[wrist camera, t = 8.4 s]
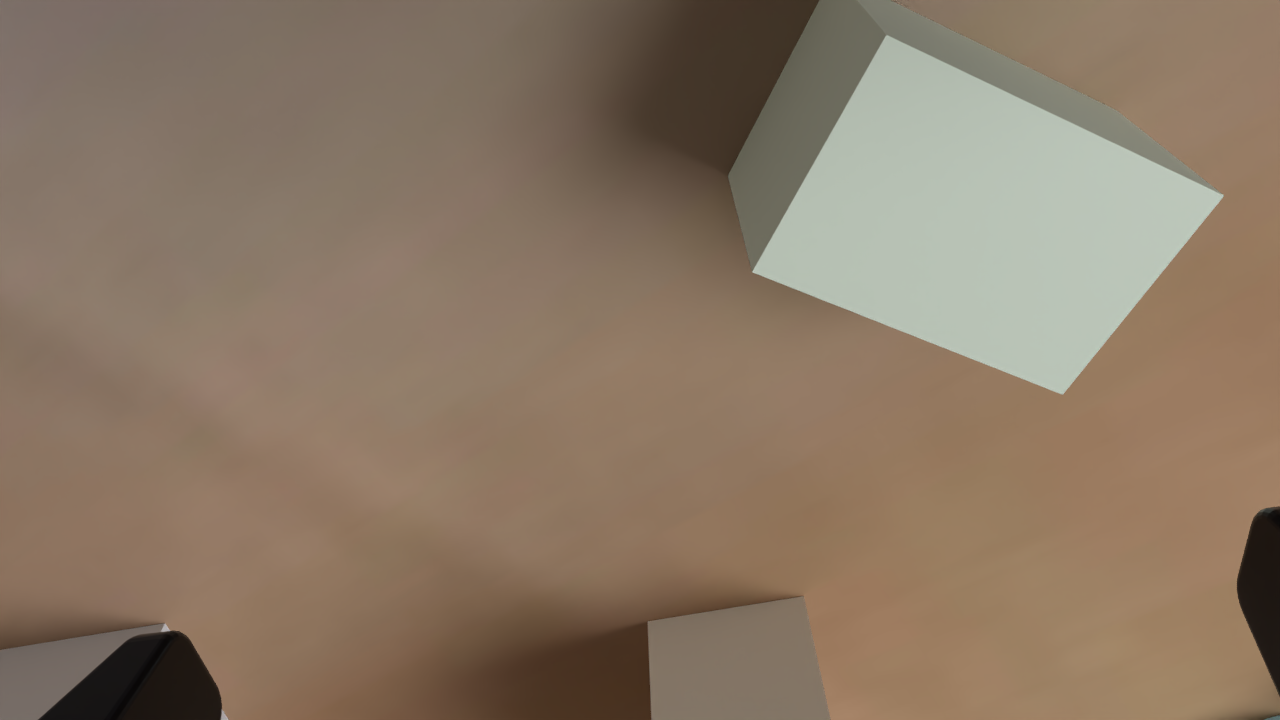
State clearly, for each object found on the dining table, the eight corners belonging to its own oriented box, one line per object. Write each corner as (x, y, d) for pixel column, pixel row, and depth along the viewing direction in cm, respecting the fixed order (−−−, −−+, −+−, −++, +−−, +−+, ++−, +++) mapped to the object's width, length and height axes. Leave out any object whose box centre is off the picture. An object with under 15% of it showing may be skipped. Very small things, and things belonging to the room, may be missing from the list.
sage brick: (1113, 107, 19) (1224, 195, 15) (988, 282, 21) (1062, 395, 17) (832, -29, 17) (886, 35, 14) (726, 172, 19) (752, 272, 16)
